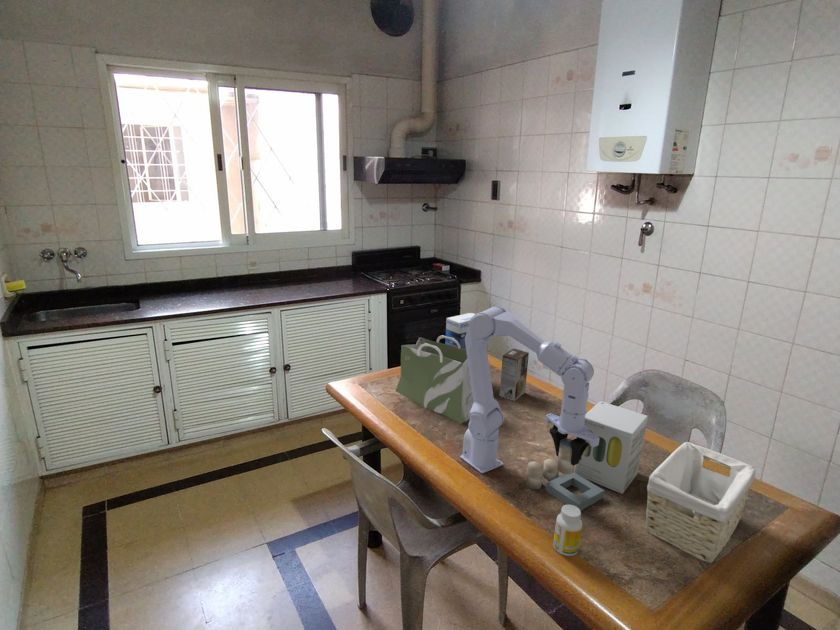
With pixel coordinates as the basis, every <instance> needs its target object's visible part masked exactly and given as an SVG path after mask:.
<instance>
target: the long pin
mask: <svg viewBox="0 0 840 630" xmlns="http://www.w3.org/2000/svg"><path fill="white" fill-rule="evenodd" d="M571 440H573V439H571V438H568V437H567V438H565V439H561V440H560V447H559V455H558V456H557V461H558V464H557V470H558V471H559V473H561V474H562V475H564V474H572V473H573V472H575V465H574V466H573V465H572V464H571V456H572V448H571V443H570V441H571Z"/></svg>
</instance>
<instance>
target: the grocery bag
mask: <svg viewBox="0 0 840 630" xmlns="http://www.w3.org/2000/svg"><path fill="white" fill-rule="evenodd" d="M446 338H447V339H450V340H452V341H454V342H455V343H456V344H457V346H458V347H454V346H450V345H446V344H445V343H442V342H440V340H441V339H446ZM400 348H401V349H400V378H399V380H398V382H397V386H396V388H395V393H398V394H400V395H402V396H404V397H405V398H407V399H409V400H411V401H413V402H415V403H416V404H417V405H419V406H421V407H422V408H424V409H426V410H429V411H432V412H434V413H437V414H440V415H441V416H445V417H446V418H448V419H450V420H452V421H454V422H455V423H458V424H460V425H462V424H464V423H465V422H468V421H470V411H471V408H472V406H473V403H474V400H473V393H472V386H471V380H470V373H469V366H468V359H467V352H466V349H463V348H461V347H460V345H459V343H458V341H456V340H455V339H454V338H451V337H446V335H443V334H442V335H439V336H438V337H437V338H436V341H433V340H430V339H428V338H427V339H426V338H424V337H418V340H417V341H416V344H414V343H413V344H402V345H401V347H400Z"/></svg>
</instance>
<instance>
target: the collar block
mask: <svg viewBox="0 0 840 630" xmlns="http://www.w3.org/2000/svg"><path fill="white" fill-rule="evenodd" d="M571 486H572V487H574V488H576V489H578V490H579V491H581V492H582V493H580V494H579V495H577V494H575V493H573V492H571V491H570V490H568V489H567V488H569V487H571ZM545 491H546V492H547V493H549V494H550V495H552V496H553V497H555V498H556V499H558V500H559V501H561V502H562V503H563V504H565V505H574V506H576V507H578V508H579V509H580V511H582V510H584V509H587V508H588V507H589V506H592V505H593V504H595V503H597V502H598V501H600V500H602V499H603V498H604V496H605V495H604V494H605V489H603V488H601V487H599V486H598V485H596V484H594V482H592V481H590V480H588V479H585V478H583V477H581V476H580V475H578V474H576V473H575V471H574V472H573V473H572V474H562V475H560V476H558V478H556V479H554V480H552V481H550V480H549V481H548V482H546V483H545Z"/></svg>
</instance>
